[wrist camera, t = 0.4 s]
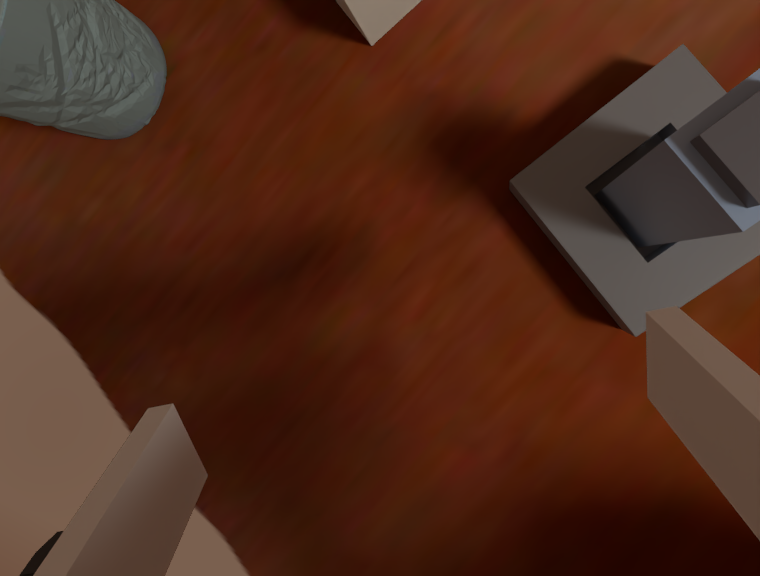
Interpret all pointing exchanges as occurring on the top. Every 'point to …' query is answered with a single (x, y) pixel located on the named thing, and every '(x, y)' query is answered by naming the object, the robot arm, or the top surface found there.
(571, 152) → the grey square socket block
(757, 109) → the plug
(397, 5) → the port
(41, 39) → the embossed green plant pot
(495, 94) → the top surface
